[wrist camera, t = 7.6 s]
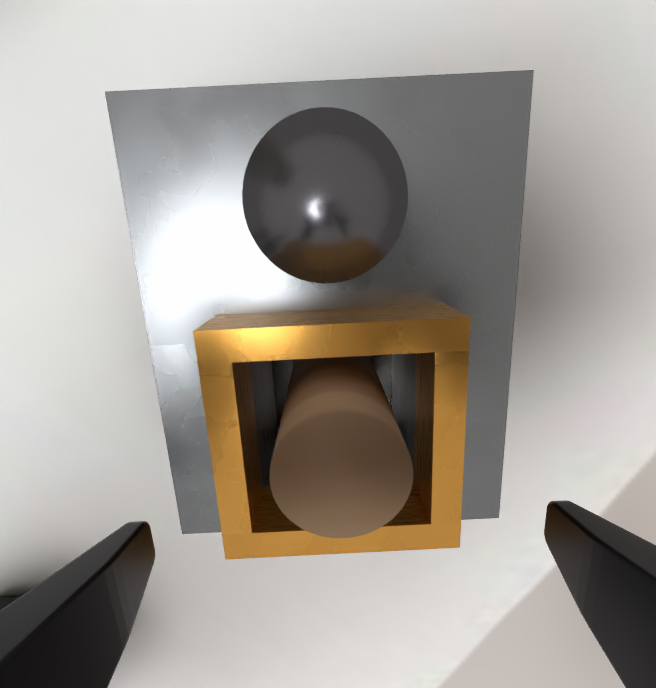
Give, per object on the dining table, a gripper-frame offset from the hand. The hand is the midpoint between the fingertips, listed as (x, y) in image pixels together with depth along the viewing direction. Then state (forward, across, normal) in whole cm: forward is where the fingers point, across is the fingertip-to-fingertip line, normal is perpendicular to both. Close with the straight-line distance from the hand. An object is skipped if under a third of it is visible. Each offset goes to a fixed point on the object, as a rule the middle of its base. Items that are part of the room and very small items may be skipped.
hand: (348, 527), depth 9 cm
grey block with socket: (+11, 0, -3) cm, 11 cm away
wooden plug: (+11, 0, 0) cm, 11 cm away
